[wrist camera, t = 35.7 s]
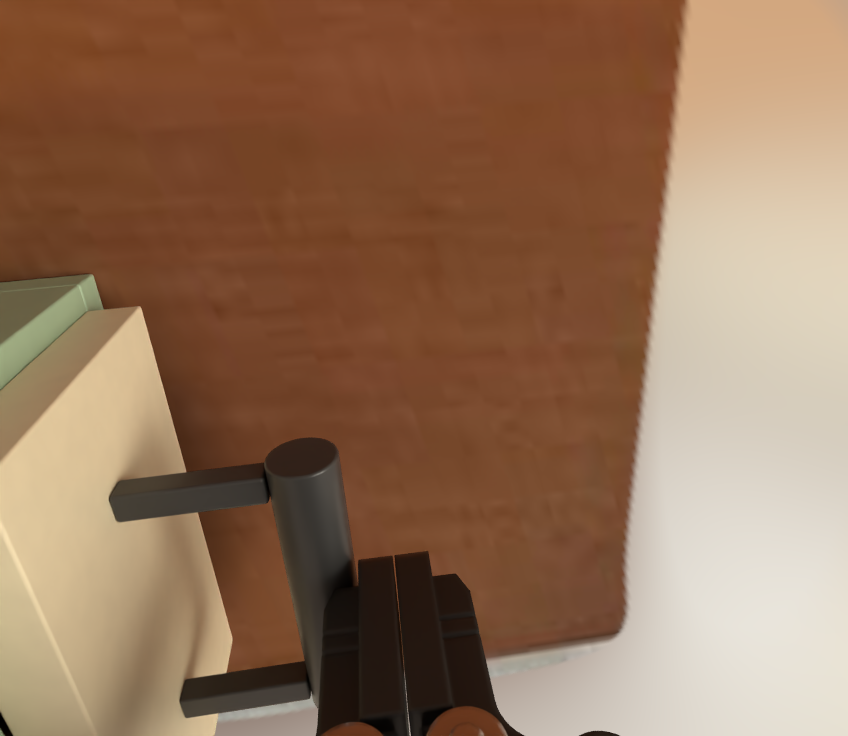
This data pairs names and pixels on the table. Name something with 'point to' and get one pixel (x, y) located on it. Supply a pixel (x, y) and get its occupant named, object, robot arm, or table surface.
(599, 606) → the table surface
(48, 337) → the cabinet
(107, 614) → the drawer
